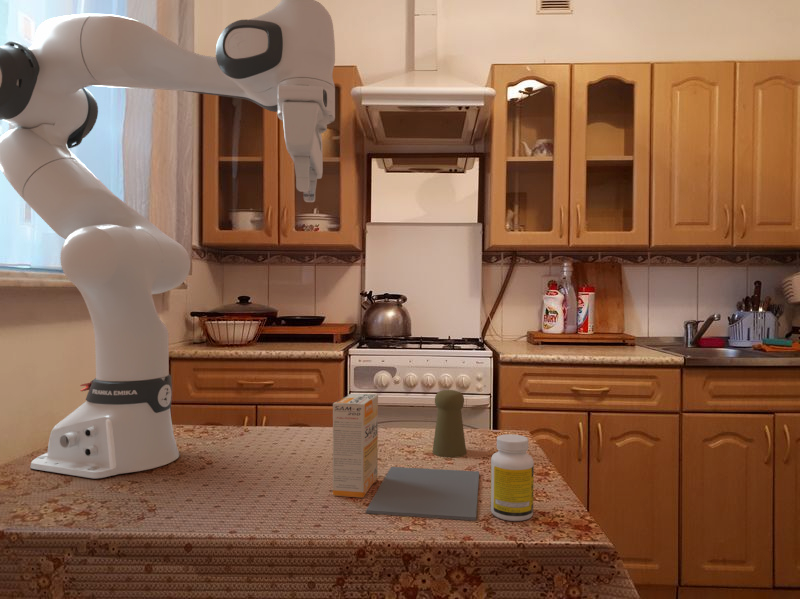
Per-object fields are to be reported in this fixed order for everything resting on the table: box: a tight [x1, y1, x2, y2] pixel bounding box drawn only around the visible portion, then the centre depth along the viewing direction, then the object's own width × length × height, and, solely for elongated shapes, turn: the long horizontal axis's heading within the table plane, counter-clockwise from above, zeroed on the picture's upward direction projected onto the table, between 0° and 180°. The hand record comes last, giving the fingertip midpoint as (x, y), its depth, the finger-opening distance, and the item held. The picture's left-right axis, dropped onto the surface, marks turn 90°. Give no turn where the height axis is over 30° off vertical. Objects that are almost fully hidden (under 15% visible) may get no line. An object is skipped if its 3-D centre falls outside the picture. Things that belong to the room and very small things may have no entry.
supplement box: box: [332, 393, 379, 499], centre depth 81 cm, size 8×5×13 cm, turn 168°
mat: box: [365, 466, 480, 522], centre depth 79 cm, size 14×18×1 cm
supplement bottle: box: [490, 433, 535, 522], centre depth 71 cm, size 5×5×10 cm
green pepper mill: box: [432, 389, 467, 458], centre depth 98 cm, size 6×6×11 cm
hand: (306, 196), depth 86 cm, fingers open, 8 cm apart
